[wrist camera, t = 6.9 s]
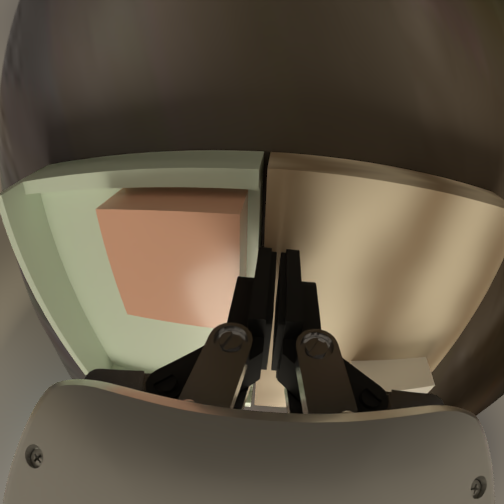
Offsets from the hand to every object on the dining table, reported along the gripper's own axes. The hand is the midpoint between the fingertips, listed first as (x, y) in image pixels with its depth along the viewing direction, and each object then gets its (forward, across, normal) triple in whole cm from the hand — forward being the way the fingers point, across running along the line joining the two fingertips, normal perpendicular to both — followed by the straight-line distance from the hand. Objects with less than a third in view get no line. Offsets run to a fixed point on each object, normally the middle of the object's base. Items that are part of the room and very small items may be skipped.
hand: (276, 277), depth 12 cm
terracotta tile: (+2, +4, 0) cm, 5 cm away
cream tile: (+1, -8, +10) cm, 13 cm away
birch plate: (+4, -6, +5) cm, 9 cm away
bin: (+4, +8, +5) cm, 10 cm away
